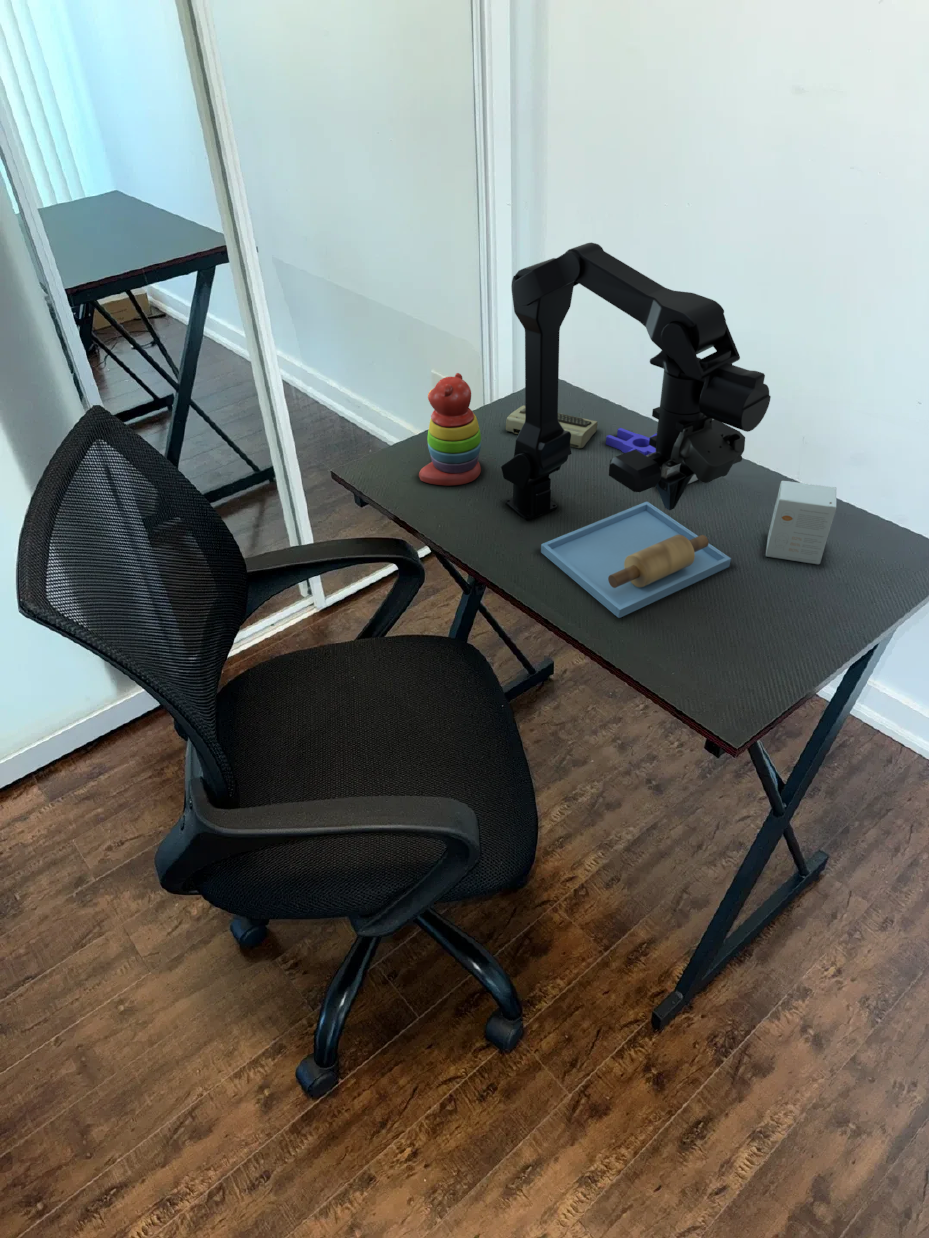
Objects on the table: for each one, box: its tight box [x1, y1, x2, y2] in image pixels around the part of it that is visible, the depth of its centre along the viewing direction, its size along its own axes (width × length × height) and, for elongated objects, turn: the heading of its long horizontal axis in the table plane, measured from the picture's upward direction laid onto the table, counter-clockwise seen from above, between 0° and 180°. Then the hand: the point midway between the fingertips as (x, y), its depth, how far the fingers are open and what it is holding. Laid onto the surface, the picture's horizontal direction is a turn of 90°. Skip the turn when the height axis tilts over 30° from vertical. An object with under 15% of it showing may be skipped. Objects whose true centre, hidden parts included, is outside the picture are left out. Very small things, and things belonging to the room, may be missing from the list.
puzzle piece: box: [605, 427, 657, 456], centre depth 151 cm, size 10×12×2 cm
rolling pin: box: [608, 534, 710, 588], centre depth 121 cm, size 5×18×5 cm, turn 121°
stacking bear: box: [418, 372, 482, 486], centre depth 142 cm, size 11×10×18 cm
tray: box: [540, 501, 732, 619], centre depth 126 cm, size 19×21×2 cm
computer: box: [505, 404, 599, 449], centre depth 157 cm, size 16×8×3 cm, turn 61°
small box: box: [765, 480, 837, 565], centre depth 124 cm, size 8×6×10 cm
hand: (669, 508), depth 115 cm, fingers closed
